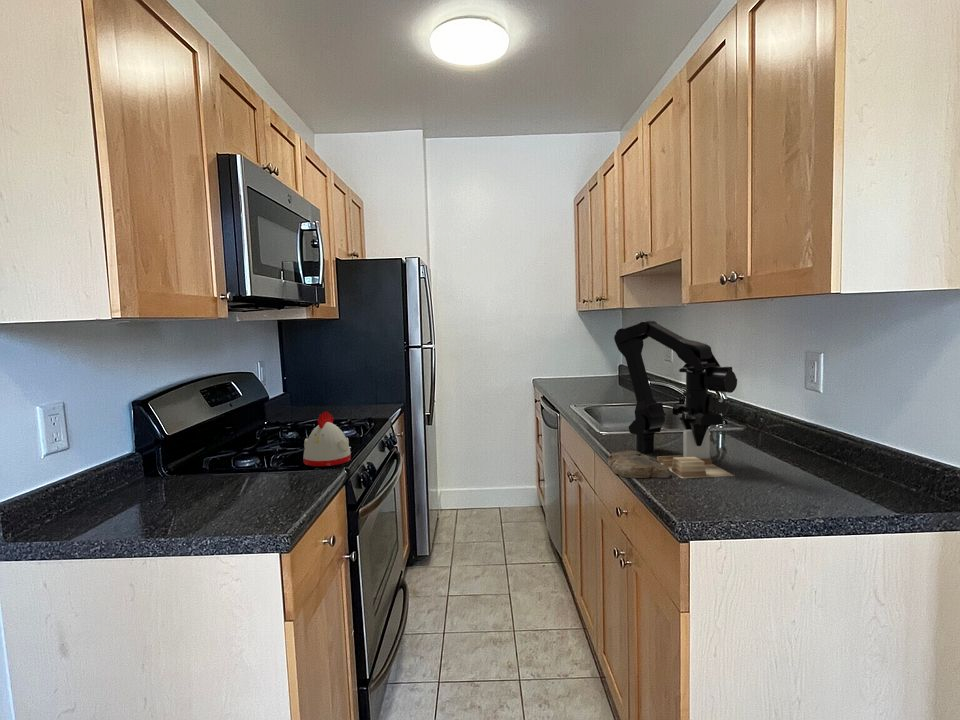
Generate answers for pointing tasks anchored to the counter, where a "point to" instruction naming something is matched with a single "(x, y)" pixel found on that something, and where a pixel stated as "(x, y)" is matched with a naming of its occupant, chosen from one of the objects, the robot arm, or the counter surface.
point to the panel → (690, 445)
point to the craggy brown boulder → (636, 465)
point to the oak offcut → (688, 468)
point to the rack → (709, 467)
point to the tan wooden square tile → (689, 473)
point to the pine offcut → (688, 461)
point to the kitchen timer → (326, 444)
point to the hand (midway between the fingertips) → (696, 444)
